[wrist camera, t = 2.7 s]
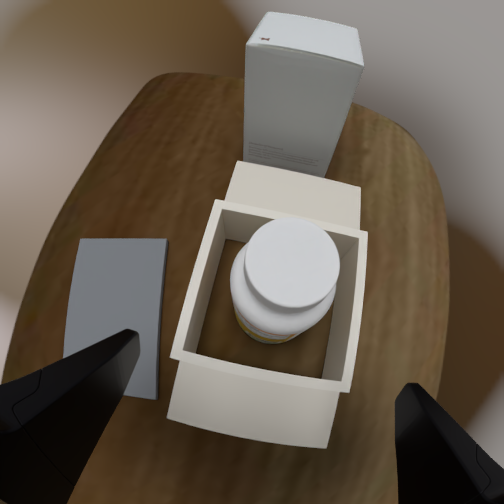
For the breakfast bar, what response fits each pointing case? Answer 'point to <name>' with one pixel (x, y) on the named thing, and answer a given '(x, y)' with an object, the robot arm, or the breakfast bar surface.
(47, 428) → the robot arm
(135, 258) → the mat
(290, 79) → the supplement box
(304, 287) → the supplement bottle
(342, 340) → the carton
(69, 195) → the breakfast bar surface
